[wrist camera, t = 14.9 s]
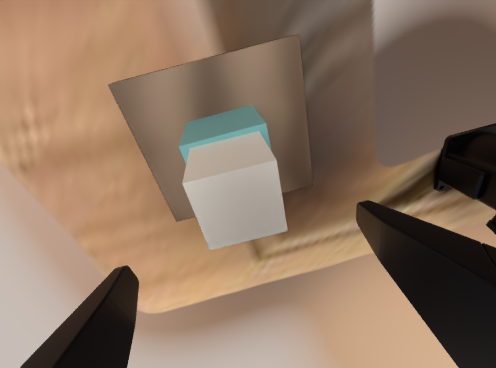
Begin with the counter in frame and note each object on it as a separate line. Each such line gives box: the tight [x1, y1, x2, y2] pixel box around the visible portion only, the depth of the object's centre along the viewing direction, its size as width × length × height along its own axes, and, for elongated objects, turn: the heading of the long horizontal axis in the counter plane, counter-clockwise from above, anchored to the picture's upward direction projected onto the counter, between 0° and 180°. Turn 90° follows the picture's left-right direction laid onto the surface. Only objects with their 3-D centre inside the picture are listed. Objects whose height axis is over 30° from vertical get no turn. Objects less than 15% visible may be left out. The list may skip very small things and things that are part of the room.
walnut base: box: [108, 34, 313, 222], centre depth 19 cm, size 13×12×2 cm
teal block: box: [179, 105, 272, 164], centre depth 16 cm, size 5×5×5 cm
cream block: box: [182, 131, 288, 251], centre depth 12 cm, size 4×4×4 cm
